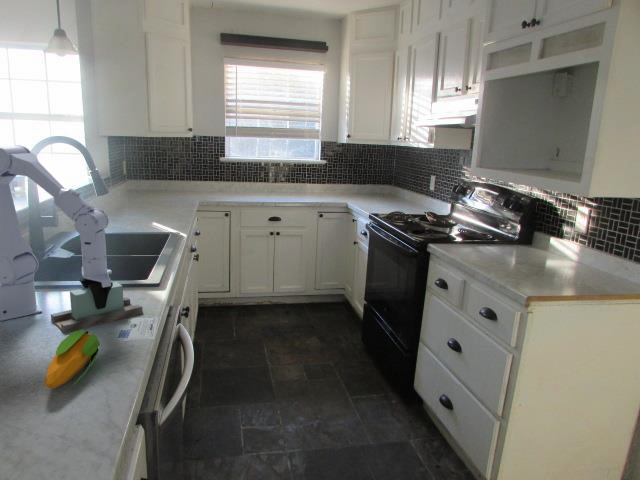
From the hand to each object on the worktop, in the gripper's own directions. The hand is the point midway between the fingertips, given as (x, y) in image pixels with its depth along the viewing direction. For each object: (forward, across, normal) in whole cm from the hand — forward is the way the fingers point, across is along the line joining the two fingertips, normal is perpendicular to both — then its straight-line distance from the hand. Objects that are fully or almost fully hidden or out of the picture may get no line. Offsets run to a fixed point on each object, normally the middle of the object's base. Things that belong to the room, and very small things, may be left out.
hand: (97, 305), depth 124 cm
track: (+3, 0, 0) cm, 3 cm away
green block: (+2, 0, 0) cm, 2 cm away
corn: (+3, -27, +15) cm, 31 cm away
